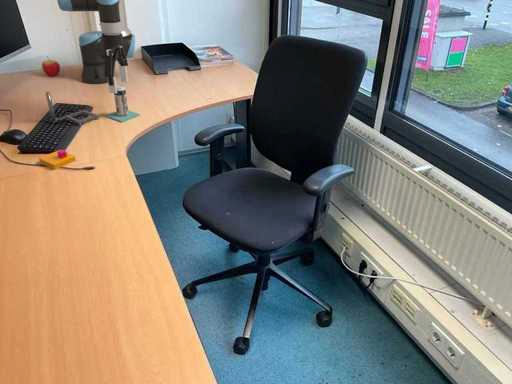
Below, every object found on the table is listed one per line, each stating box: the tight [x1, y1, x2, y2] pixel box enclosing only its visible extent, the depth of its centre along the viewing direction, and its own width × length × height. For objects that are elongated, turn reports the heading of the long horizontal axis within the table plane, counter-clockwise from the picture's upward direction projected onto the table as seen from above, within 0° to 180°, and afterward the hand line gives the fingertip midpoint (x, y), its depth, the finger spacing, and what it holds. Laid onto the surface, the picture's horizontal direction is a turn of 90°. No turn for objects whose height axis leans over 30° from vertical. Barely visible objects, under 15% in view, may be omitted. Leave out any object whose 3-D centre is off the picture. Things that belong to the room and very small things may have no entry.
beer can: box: [113, 84, 129, 116], centre depth 174 cm, size 5×5×12 cm
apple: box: [41, 55, 61, 77], centre depth 218 cm, size 8×8×10 cm
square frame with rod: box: [45, 91, 99, 126], centre depth 168 cm, size 14×14×12 cm
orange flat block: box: [38, 149, 77, 170], centre depth 140 cm, size 8×8×4 cm
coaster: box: [104, 109, 141, 123], centre depth 177 cm, size 10×10×1 cm
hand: (119, 87), depth 171 cm, fingers open, 13 cm apart
